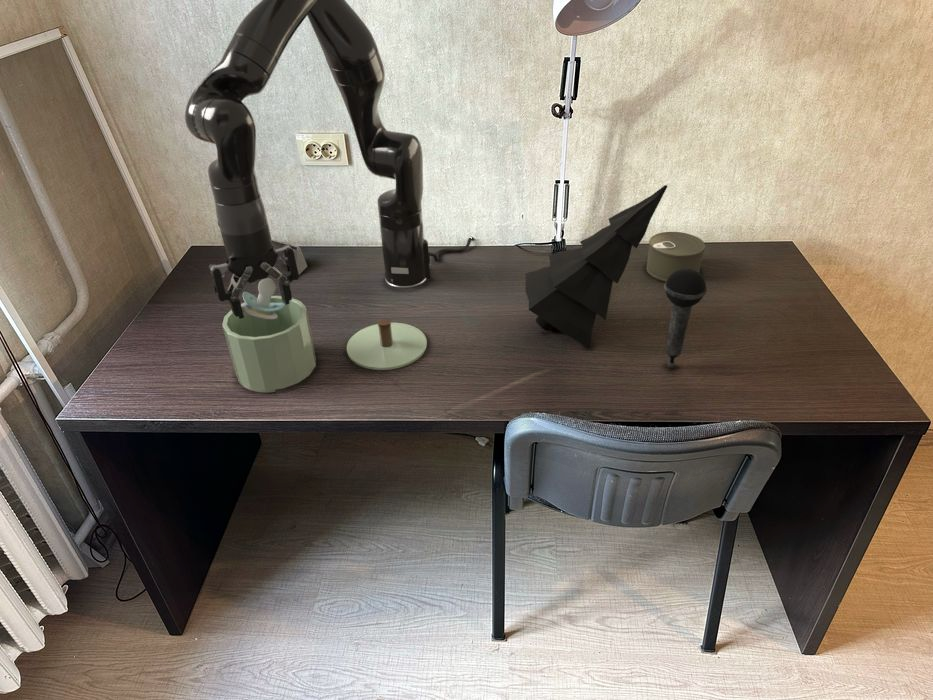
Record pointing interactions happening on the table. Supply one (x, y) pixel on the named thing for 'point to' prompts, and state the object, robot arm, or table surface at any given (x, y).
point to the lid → (386, 345)
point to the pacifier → (262, 301)
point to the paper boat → (297, 253)
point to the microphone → (681, 306)
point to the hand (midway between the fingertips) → (263, 309)
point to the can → (673, 253)
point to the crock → (271, 347)
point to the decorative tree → (587, 273)
